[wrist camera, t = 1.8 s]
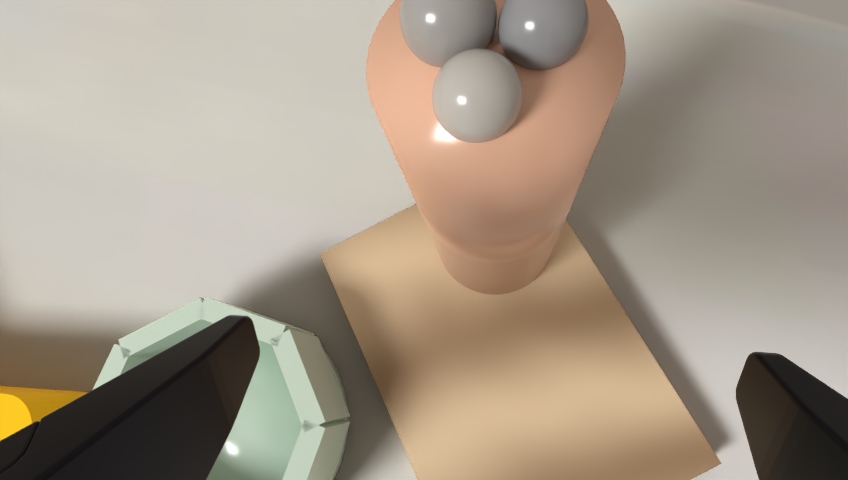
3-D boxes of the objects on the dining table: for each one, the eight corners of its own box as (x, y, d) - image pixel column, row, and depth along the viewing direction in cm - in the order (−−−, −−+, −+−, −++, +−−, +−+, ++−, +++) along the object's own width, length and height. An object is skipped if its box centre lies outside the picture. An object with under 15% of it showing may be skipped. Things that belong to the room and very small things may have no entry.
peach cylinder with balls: (575, 260, 20) (713, 44, 7) (469, 315, 20) (422, 194, 7) (516, 166, 21) (545, -150, 9) (418, 217, 21) (304, -27, 9)
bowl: (383, 480, 19) (356, 503, 16) (181, 585, 19) (109, 631, 16) (301, 283, 22) (264, 264, 19) (125, 374, 22) (53, 372, 19)
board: (709, 459, 18) (721, 463, 17) (469, 584, 18) (467, 594, 17) (520, 159, 22) (521, 149, 21) (327, 259, 22) (319, 253, 21)
